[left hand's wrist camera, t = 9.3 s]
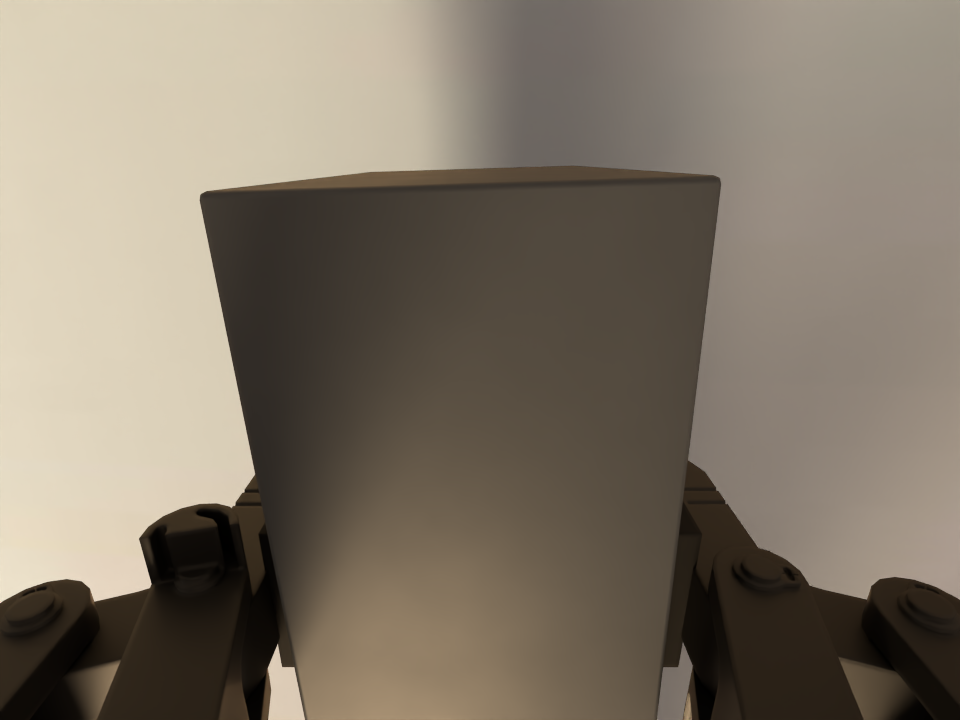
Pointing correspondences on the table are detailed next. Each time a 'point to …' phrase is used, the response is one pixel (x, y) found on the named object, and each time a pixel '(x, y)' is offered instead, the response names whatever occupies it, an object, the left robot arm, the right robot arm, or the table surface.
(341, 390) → the post
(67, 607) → the left robot arm
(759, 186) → the table surface
